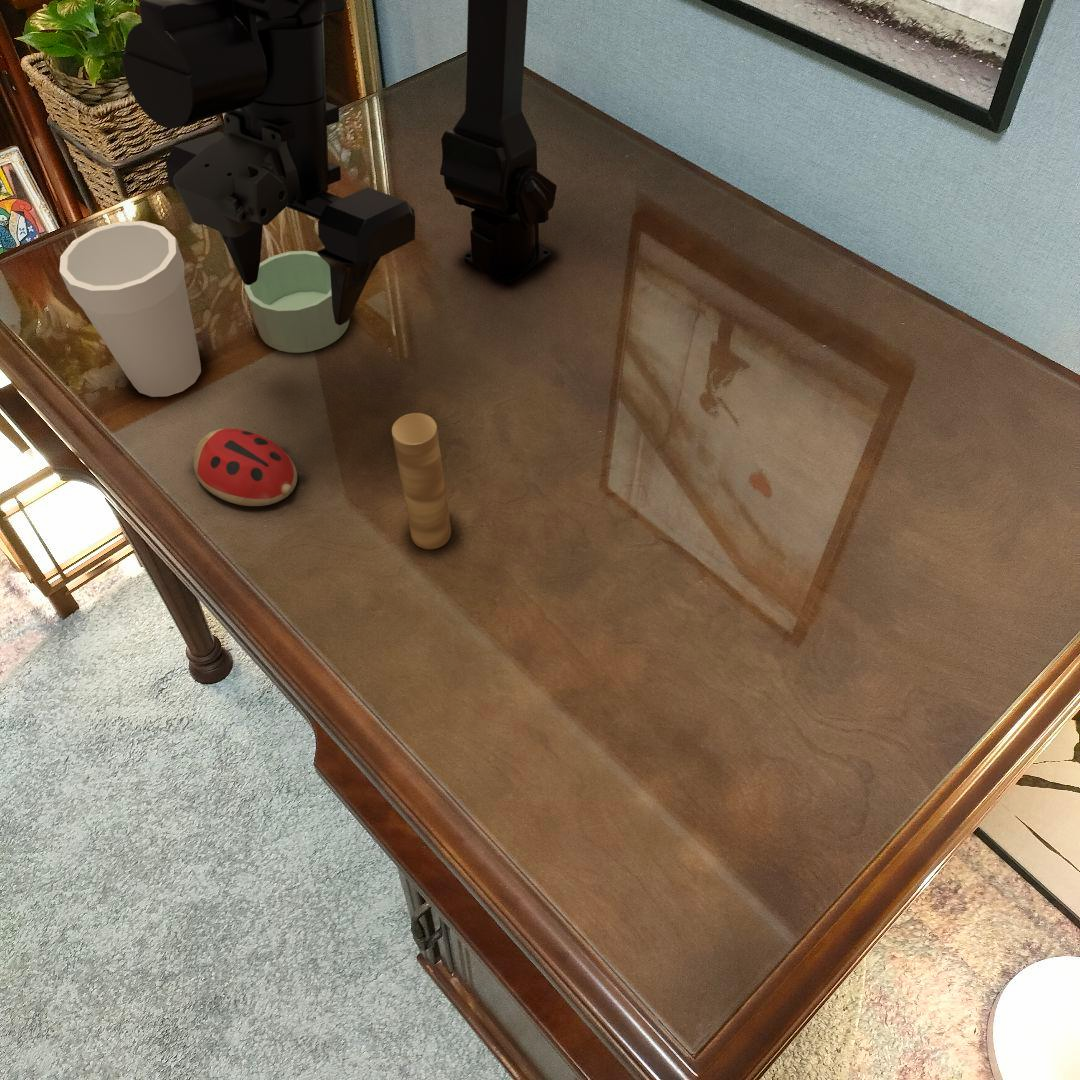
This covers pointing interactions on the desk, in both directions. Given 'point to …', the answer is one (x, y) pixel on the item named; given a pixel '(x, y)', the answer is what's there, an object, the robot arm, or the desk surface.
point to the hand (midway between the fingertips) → (295, 302)
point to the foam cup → (137, 302)
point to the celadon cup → (294, 302)
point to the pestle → (422, 479)
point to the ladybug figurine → (244, 468)
